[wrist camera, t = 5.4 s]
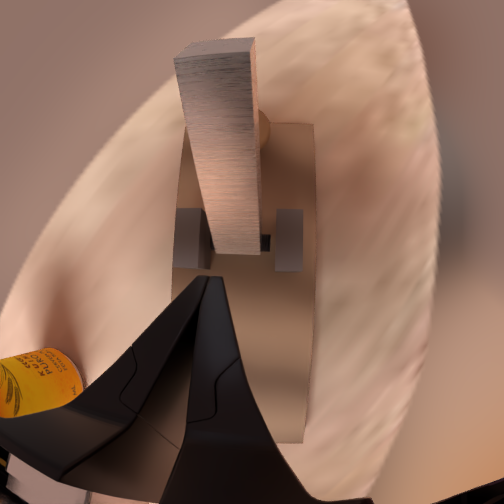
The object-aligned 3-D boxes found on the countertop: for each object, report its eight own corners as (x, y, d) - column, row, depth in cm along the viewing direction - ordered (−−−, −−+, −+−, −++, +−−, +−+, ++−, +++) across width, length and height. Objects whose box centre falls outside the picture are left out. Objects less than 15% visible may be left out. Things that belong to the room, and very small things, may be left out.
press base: (301, 432, 18) (306, 468, 13) (181, 423, 19) (159, 454, 14) (310, 133, 20) (318, 97, 15) (191, 134, 21) (172, 101, 16)
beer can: (79, 346, 20) (-71, 388, 5) (95, 412, 19) (-26, 489, 4) (35, 344, 20) (-92, 370, 5) (50, 404, 20) (-61, 454, 5)
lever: (269, 265, 16) (266, 51, 7) (210, 263, 17) (159, 61, 7) (270, 232, 18) (268, 37, 8) (216, 231, 18) (179, 44, 9)
